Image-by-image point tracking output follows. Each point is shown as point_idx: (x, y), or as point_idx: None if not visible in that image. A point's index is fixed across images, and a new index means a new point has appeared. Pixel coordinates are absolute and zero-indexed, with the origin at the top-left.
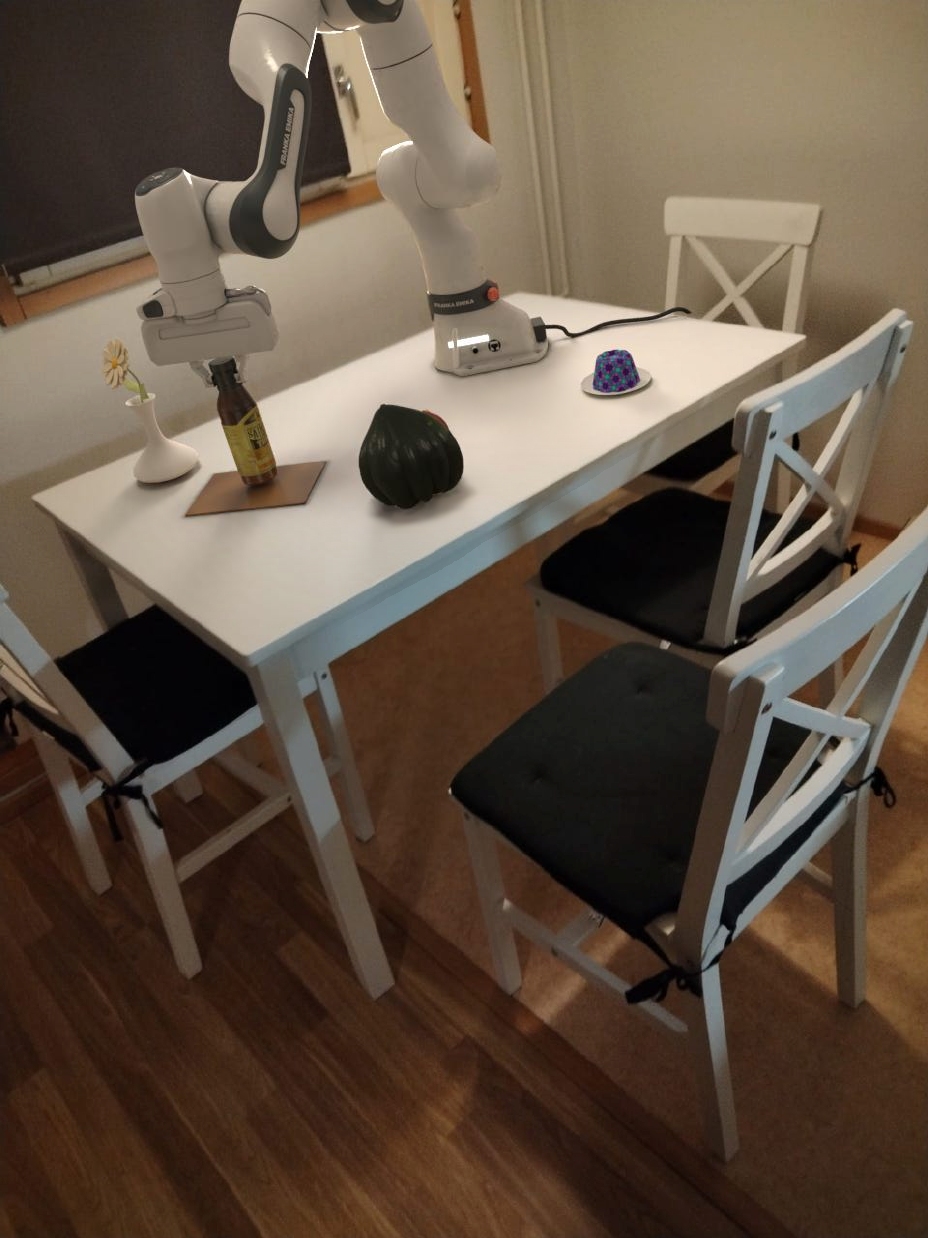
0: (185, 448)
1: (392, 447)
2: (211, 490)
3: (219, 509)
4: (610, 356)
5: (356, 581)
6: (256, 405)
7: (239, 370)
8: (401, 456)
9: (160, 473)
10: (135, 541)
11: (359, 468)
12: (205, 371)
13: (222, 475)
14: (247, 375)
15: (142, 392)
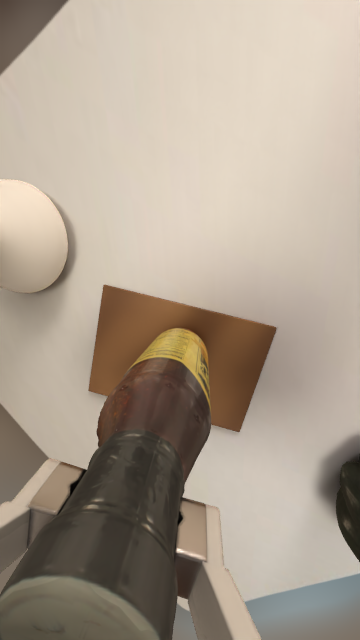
0: (37, 233)
1: None
2: (110, 340)
3: None
4: None
5: (280, 580)
6: (210, 427)
7: (198, 627)
8: None
9: (20, 290)
10: (44, 418)
11: (355, 553)
12: (3, 541)
13: (118, 298)
14: (218, 528)
15: None
